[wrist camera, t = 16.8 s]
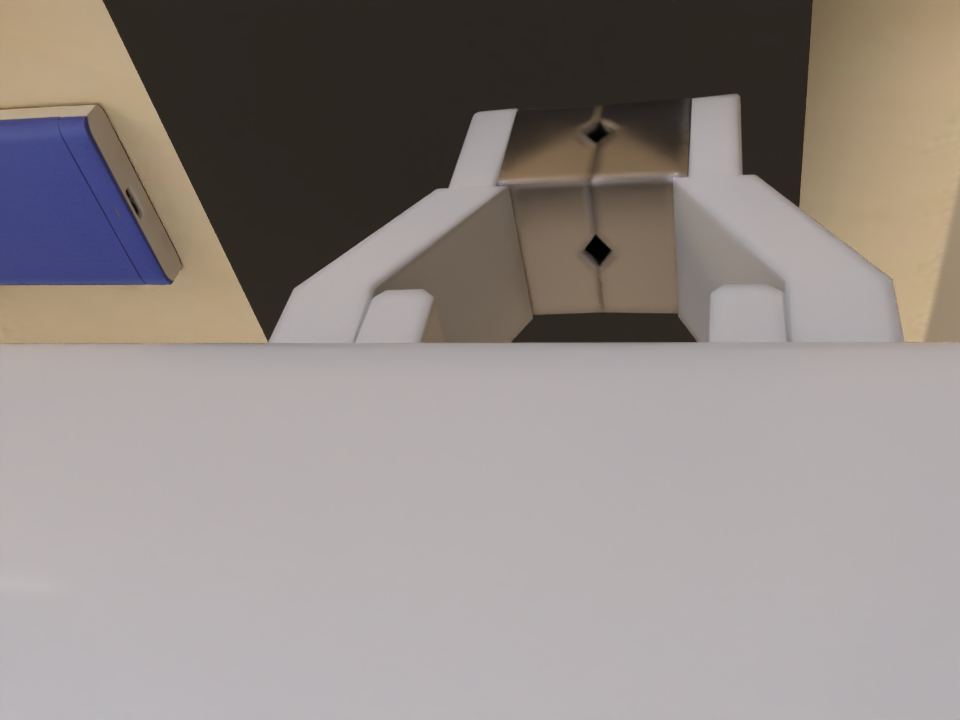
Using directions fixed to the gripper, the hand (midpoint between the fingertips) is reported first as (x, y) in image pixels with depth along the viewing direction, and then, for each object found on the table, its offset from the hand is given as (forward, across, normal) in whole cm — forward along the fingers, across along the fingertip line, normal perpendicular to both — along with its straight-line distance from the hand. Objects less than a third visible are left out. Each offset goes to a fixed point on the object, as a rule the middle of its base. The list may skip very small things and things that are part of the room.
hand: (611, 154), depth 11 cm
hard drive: (+19, +28, +13) cm, 36 cm away
